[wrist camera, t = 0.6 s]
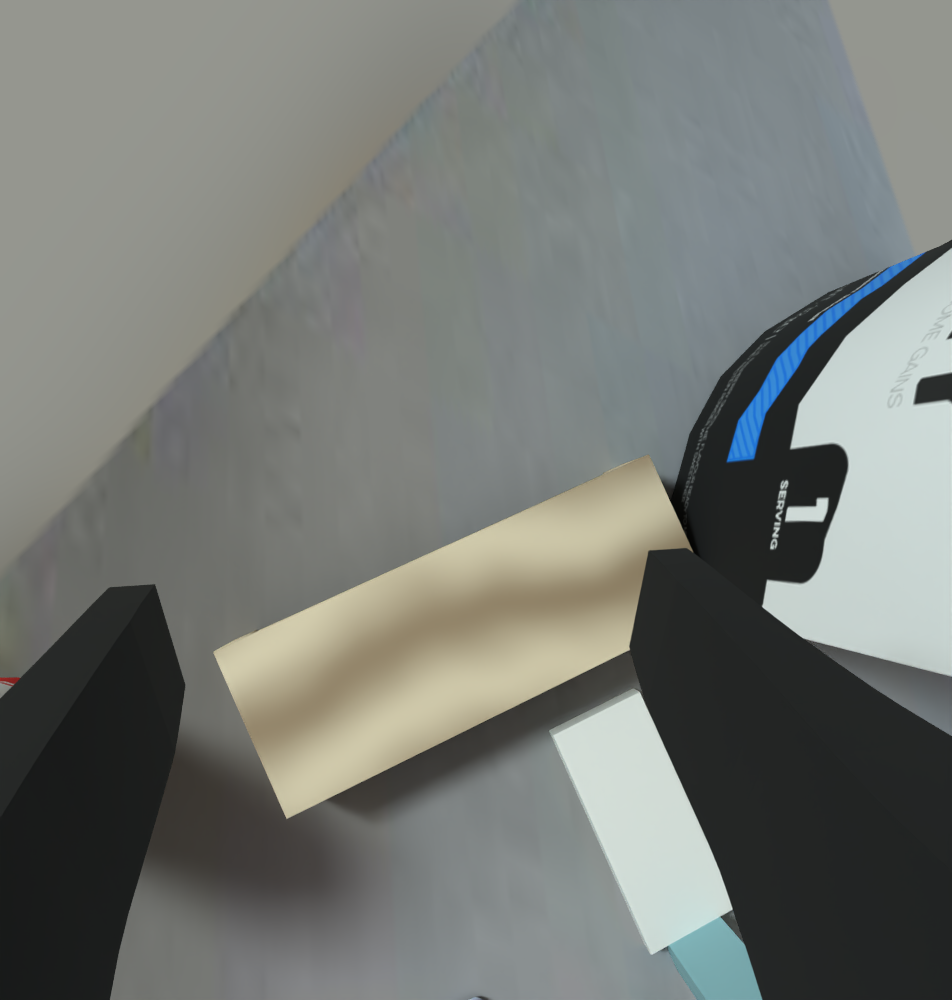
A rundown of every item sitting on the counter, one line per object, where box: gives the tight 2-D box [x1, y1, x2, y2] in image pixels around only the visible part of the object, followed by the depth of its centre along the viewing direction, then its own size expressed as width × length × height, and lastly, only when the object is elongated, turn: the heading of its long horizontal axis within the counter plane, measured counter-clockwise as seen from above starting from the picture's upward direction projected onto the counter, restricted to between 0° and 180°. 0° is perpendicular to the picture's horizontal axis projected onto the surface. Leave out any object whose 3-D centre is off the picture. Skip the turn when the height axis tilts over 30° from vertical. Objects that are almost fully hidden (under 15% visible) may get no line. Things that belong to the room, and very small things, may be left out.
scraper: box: [549, 688, 762, 1000], centre depth 33 cm, size 14×5×7 cm, turn 24°
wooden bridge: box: [213, 455, 693, 818], centre depth 34 cm, size 8×22×4 cm, turn 114°
